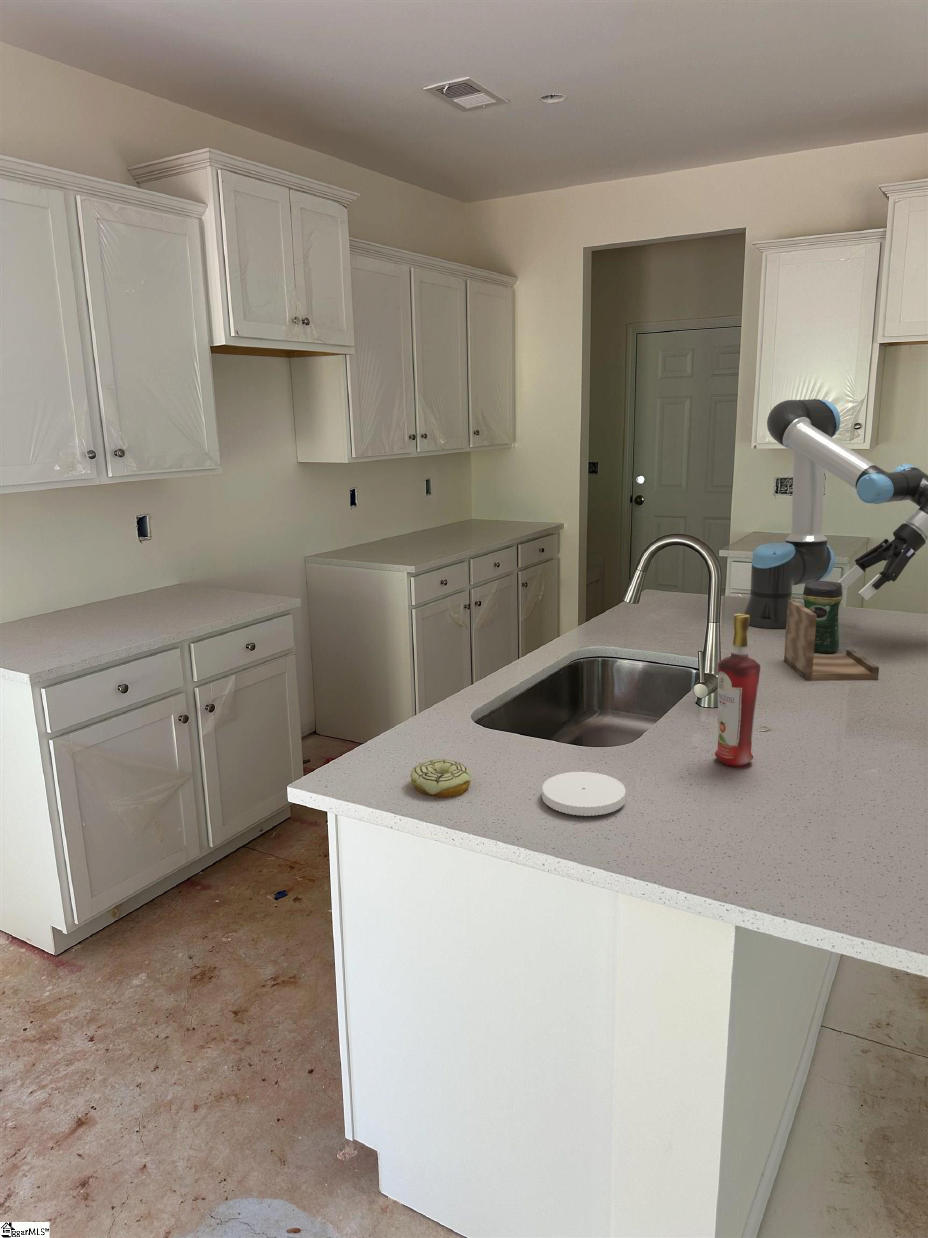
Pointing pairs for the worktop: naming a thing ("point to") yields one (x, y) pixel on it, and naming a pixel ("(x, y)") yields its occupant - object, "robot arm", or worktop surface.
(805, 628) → the wooden board stand
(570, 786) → the plastic lid
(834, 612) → the coffee jar
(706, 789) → the worktop surface
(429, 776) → the decorated donut
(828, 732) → the worktop surface
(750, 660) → the liquor
